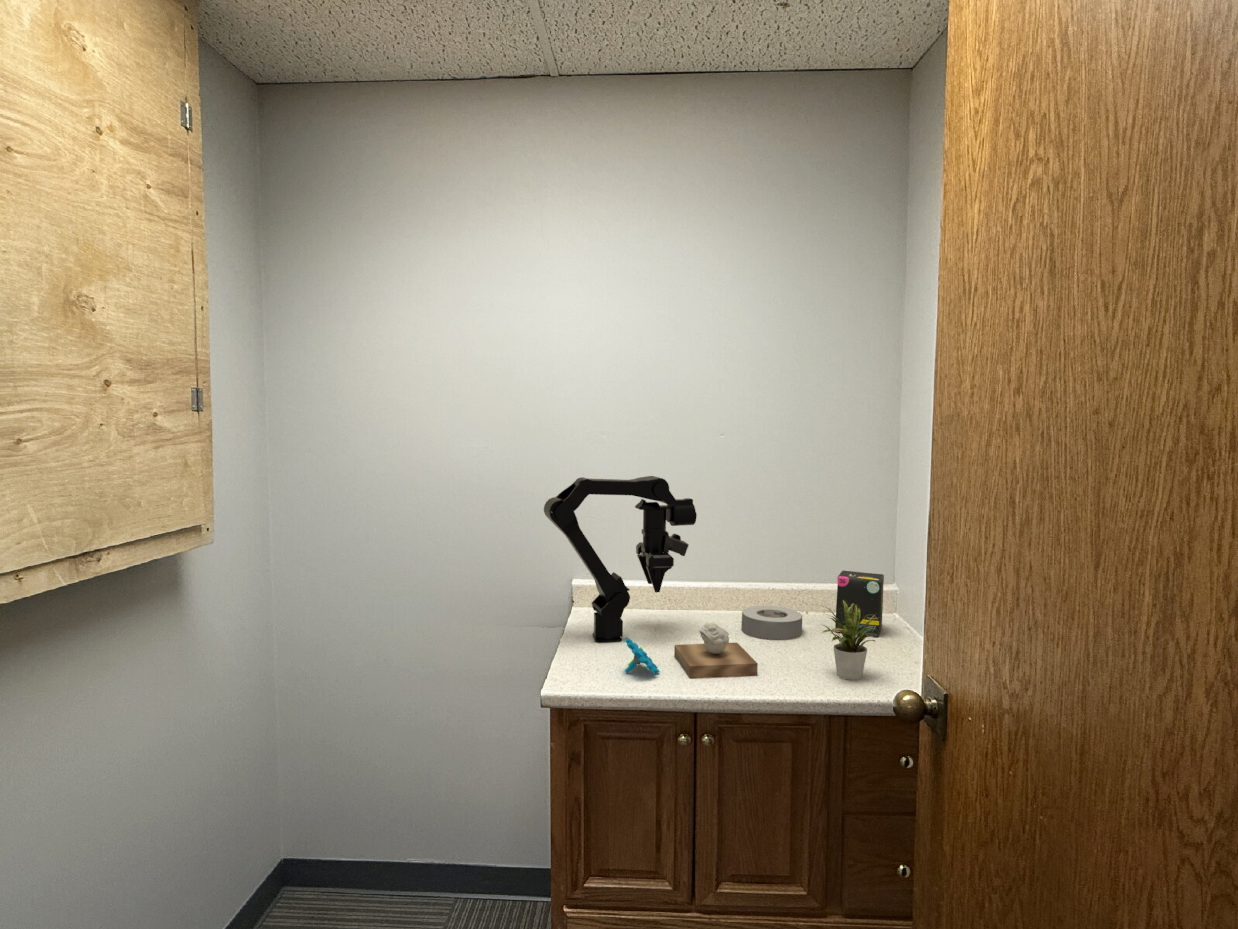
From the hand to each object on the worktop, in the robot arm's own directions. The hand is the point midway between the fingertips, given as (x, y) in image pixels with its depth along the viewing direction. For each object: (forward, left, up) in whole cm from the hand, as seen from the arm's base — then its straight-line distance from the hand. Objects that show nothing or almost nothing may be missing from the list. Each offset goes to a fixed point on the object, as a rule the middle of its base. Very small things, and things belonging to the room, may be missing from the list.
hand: (653, 588), depth 202 cm
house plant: (+36, -34, -12) cm, 51 cm away
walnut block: (+9, -25, -13) cm, 30 cm away
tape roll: (+31, -1, -12) cm, 33 cm away
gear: (-8, -27, -12) cm, 31 cm away
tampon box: (+54, -3, -12) cm, 55 cm away
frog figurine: (+9, -25, -9) cm, 28 cm away
